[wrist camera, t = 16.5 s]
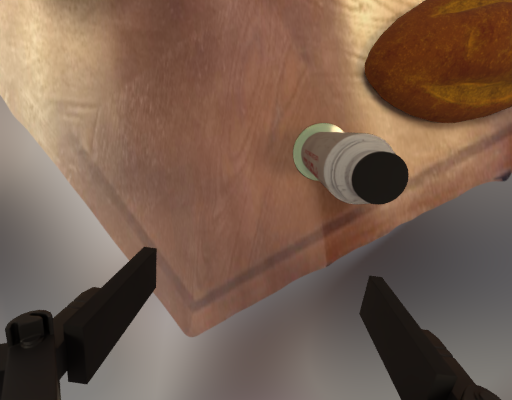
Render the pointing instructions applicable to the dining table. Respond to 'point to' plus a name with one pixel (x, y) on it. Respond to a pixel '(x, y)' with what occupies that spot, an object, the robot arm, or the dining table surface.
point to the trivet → (302, 138)
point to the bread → (446, 60)
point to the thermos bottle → (355, 166)
